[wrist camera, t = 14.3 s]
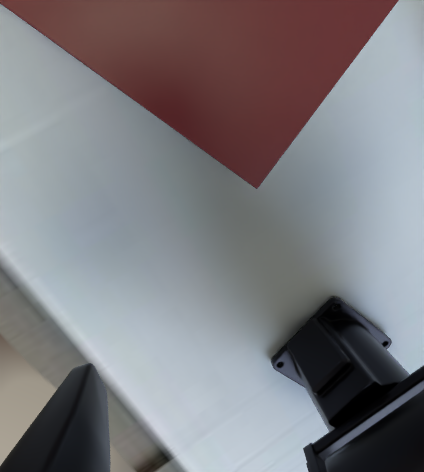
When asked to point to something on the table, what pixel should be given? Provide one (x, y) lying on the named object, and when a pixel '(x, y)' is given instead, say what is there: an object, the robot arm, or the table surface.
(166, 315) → the table surface
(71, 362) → the table surface
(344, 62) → the book
